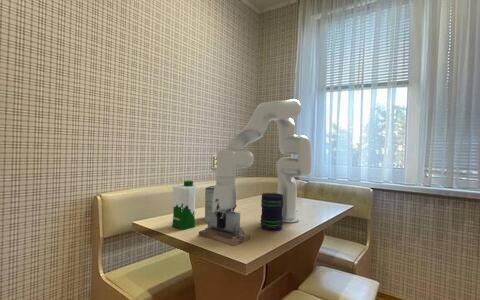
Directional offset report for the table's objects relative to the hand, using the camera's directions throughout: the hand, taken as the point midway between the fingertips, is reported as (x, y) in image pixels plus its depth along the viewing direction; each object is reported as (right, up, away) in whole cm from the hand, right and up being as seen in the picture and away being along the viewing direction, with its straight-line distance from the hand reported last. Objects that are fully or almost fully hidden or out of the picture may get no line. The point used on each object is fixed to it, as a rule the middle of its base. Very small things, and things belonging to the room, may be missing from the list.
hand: (224, 226), depth 105 cm
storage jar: (+20, -5, +14) cm, 25 cm away
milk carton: (-19, -4, +12) cm, 22 cm away
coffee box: (-7, -4, +25) cm, 27 cm away
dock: (0, -4, 0) cm, 4 cm away
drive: (0, -2, 0) cm, 2 cm away
